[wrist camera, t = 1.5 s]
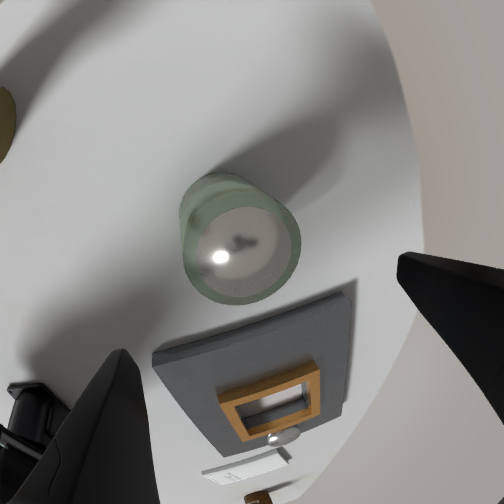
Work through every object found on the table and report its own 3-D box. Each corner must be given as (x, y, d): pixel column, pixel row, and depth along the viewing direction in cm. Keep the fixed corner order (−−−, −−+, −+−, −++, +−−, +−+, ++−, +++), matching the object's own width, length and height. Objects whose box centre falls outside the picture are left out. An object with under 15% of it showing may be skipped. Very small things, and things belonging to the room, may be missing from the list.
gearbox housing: (221, 448, 28) (225, 463, 26) (152, 353, 19) (152, 376, 17) (336, 407, 31) (344, 421, 29) (341, 291, 22) (357, 307, 20)
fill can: (192, 261, 17) (203, 320, 12) (169, 186, 15) (166, 215, 10) (266, 238, 18) (307, 286, 13) (252, 163, 16) (293, 180, 10)
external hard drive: (286, 457, 37) (221, 478, 35) (274, 445, 33) (200, 468, 32) (289, 464, 35) (223, 486, 34) (278, 453, 31) (202, 476, 30)
